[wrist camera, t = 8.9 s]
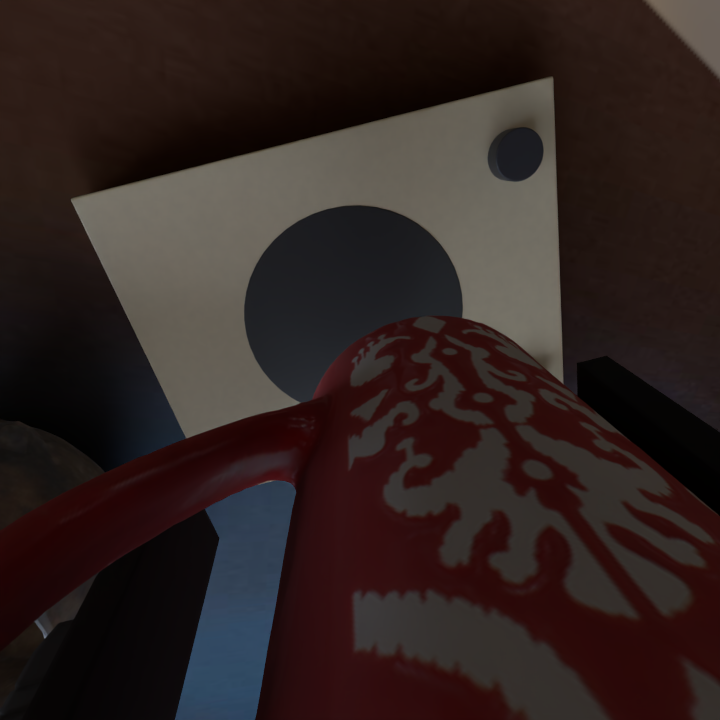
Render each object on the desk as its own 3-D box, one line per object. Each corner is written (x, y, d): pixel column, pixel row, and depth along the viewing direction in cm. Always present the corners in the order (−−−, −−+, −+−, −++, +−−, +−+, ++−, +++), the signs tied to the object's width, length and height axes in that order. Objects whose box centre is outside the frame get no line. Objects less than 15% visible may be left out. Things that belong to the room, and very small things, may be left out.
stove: (531, 83, 19) (567, 70, 17) (547, 392, 26) (574, 419, 24) (91, 194, 20) (56, 200, 17) (220, 473, 26) (209, 509, 24)
